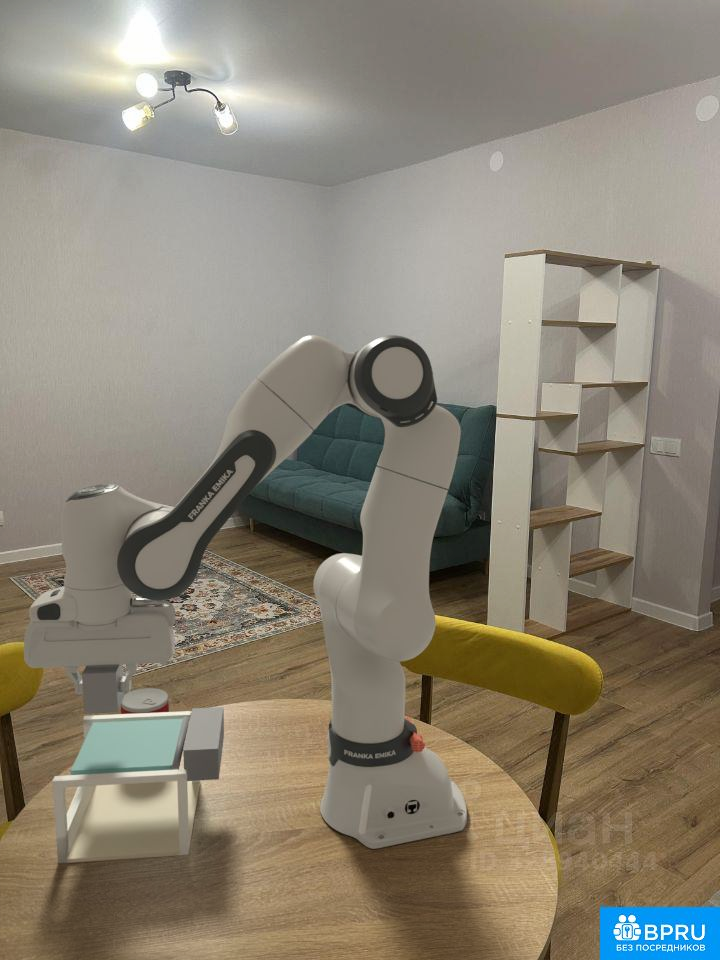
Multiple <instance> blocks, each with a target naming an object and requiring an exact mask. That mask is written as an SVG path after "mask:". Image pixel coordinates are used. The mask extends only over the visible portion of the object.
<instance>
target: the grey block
mask: <svg viewBox="0 0 720 960" xmlns="http://www.w3.org/2000/svg"><path fill="white" fill-rule="evenodd" d="M123 669H124V668H123V664H120V665H95V666H84V669H83V671H82V673H81V676H82V685H83V694H82V698H83V699H82V700H83V713H84V714H85V715H89V714H109V713H111V714H112V713H119V710H120V709H121V703H122V701H123V698H124V695H125V692H119V688H120V687H119V680H120V678H121V676H124V670H123Z"/></svg>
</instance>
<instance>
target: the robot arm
mask: <svg viewBox="0 0 720 960" xmlns="http://www.w3.org/2000/svg"><path fill="white" fill-rule="evenodd" d="M432 367H433V366H432V363H431V361H430V358H429V356H428V354H427V352H426V351H425V349H423V347H422V346H421V345H420V344H418V343H417V342H416V341H414V340H413V339H410V338H408V337H405V336H402V335H395V334H394V335H393V334H392V335H390V334H389V335H385V336H381V337H380V336H379V337H378V338H376V339H374V340H372V341H371V342H369V343H367V344H366V345H364V346H363V347H362V348H360V349H359V350H357V351H355V352H354V351H353V352H349V351H348V352H347V351H345V350H342V349H341V348H340V347H339V346H338V345H337V344H336V343H334V342H333V341H331V340H330V339H328V338H325V337H323V336H321V335H316V334H313V335H312V334H310V335H306V336H302V337H301V338H300V339H298V340H297V341H295V342H294V343H293V344H291V345H290V346H289V347H288V348H286V349H285V350H284V351H282V352H281V354H279V355H278V356H277V357H276V358H274V359H273V360H272V361H271V362H270V363H269V364H268V365H267V366H266V367H265V368H264V369H263V370H262V371H261V372H260V373H259V374H258V375H257V376H256V378H254V379H253V380H252V382H251V383H249V385H248V387H246V389H245V390H244V392H242V394H241V396H240V397H239V398H238V400H237V401H236V403H235V405H234V406H233V408H232V410H231V411H230V413H229V415H228V416H227V419H226V423H225V427H224V432H223V436H222V439H221V443H220V446H219V448H218V450H217V453H216V455H215V457H214V458H213V460H212V462H211V463H210V465H209V466H208V468H207V469H206V470H205V471H204V472H203V474H202V475H201V476H200V477H199V478H198V480H196V481H195V483H194V484H193V485H192V486H191V487H190V489H189V490H188V491H187V492H186V493H185V495H183V497H182V498H181V499H180V500H179V501H178V503H176V505H175V506H174V505H170V504H162V503H159V502H154V501H151V500H147V499H144V498H142V497H139V496H137V495H135V494H133V493H131V492H129V491H127V490H126V489H124V488H123V487H122V486H121V485H119V484H113V483H105V484H97V485H92V486H88V487H85V488H83V489H78V490H77V491H75V492H74V493H72V494H71V495H70V496H69V497H68V498H67V499H66V500H65V502H64V504H63V507H62V510H61V511H62V512H61V524H60V525H61V526H60V527H61V529H60V530H61V533H60V537H61V553H62V557H63V560H64V562H65V574H64V578H63V586H60V587H57V588H54V589H50V590H47V591H45V592H43V593H41V595H39V596H38V597H37V598H36V599H35V600H34V601H33V603H32V604H31V606H30V607H29V608H28V616H29V619H30V622H29V623H28V625H27V626H26V628H25V631H24V632H25V633H24V637H23V638H24V639H23V640H24V641H23V659H24V662H25V664H27V665H28V667H29V668H32V669H39V668H42V669H43V668H64V667H65V669H64V671H65V675H66V676H67V677H68V678H69V680H70V681H71V683H73V684H74V693H75V695H83V685H82V674H80V671H79V670H78V669H79V667H86V666H95V665H120V664H122V665H125V670H126V671H128V672H127V675H126V676H125V675H123V676H121V678H120V680H119V687H120V688H119V692H124V693H129V692H131V691H132V685H133V684H132V678H133V677H134V675H135V673H136V671H137V670H138V666H139V665H141V664H165V663H168V662H170V660H171V659H172V658H173V656H174V655H175V649H176V643H175V642H176V641H175V634H174V628H173V626H174V625H175V622H176V608H175V606H174V605H173V603H171V602H170V601H168V600H170V599H173V598H176V597H178V596H181V594H183V593H184V592H186V591H187V590H188V589H189V588H190V587H191V585H193V583H194V581H195V579H196V577H197V576H198V573H199V570H200V568H201V567H200V566H201V563H202V560H203V556H204V555H205V552H206V549H207V548H208V546H209V544H210V543H211V541H212V540H213V539H214V537H215V536H216V535H217V533H218V532H220V530H221V529H222V527H224V525H225V524H226V523H227V521H229V519H230V518H231V517H232V516H233V515H234V513H235V512H236V511H237V510H238V508H239V507H240V506H241V505H242V504H243V502H244V501H246V499H247V498H248V496H249V495H250V494H251V493H252V492H253V491H254V489H255V488H256V487H257V486H258V485H259V484H260V483H261V482H262V481H263V480H264V479H265V478H267V477H268V475H270V474H271V472H273V471H274V470H275V469H276V468H277V467H279V465H280V464H281V463H283V462H284V461H285V460H286V459H287V458H288V457H290V455H292V454H293V453H294V451H296V450H297V449H298V448H299V447H300V446H301V445H302V444H303V443H304V442H305V441H306V440H307V439H308V438H309V437H310V436H311V435H312V433H313V432H314V431H315V430H316V429H317V428H318V426H319V425H320V424H321V423H322V422H323V421H325V420H324V419H326V418H327V416H329V415H330V414H331V413H332V412H333V411H334V410H336V409H337V408H339V407H340V406H343V405H345V406H348V407H349V408H351V409H354V410H356V412H359V413H361V414H363V415H365V416H370V417H372V418H373V417H375V418H380V419H381V421H382V424H383V426H384V427H383V428H384V439H383V440H384V441H383V446H382V450H381V453H380V455H379V458H378V461H377V463H376V466H375V470H374V472H373V475H372V479H371V481H370V484H369V487H368V489H367V493H366V497H365V498H364V502H363V504H362V508H361V511H360V515H359V516H360V518H359V519H360V526H361V530H362V554H361V555H359V554H354V553H347V552H346V553H345V552H342V553H335V554H333V555H331V556H330V557H328V558H326V559H325V560H324V561H322V563H321V564H320V565H319V566H318V568H317V570H316V572H315V574H314V578H313V586H312V587H313V593H314V595H315V599H316V601H317V604H318V607H319V611H320V616H321V621H322V629H323V635H324V641H325V647H326V650H327V656H328V660H329V661H328V662H329V667H330V668H329V670H330V677H331V718H330V721H329V724H328V731H327V757H328V760H329V767H328V773H327V778H326V779H327V780H326V784H325V788H324V793H323V795H322V797H321V798H322V799H321V802H320V805H319V806H320V807H319V810H320V813H321V817H322V818H323V820H324V821H325V823H327V825H329V826H330V828H332V829H334V830H335V831H337V832H339V833H341V834H343V835H346V836H350V837H352V838H354V839H356V840H357V841H359V842H360V843H361V844H362V845H363V846H365V847H367V848H369V849H373V850H375V849H377V850H378V849H381V848H385V847H390V846H394V845H400V844H405V843H409V842H414V841H420V840H425V839H428V838H433V837H439V836H443V835H449V834H452V833H453V834H454V833H457V832H461V831H463V830H464V829H465V827H466V825H467V821H468V811H467V804H466V801H465V798H464V795H463V793H462V791H461V790H460V788H459V787H458V785H457V784H456V783H455V782H454V781H453V779H452V778H451V777H450V774H449V772H448V769H447V767H446V765H445V764H444V762H443V760H442V759H441V758H440V756H438V754H437V753H436V752H434V751H433V750H430V749H429V748H428V747H426V744H425V741H424V738H423V737H422V735H421V734H419V733H418V728H417V727H416V725H415V724H414V723H413V721H412V719H411V718H410V716H409V715H407V716H406V717H405V714H406V713H405V711H406V710H405V709H406V708H405V707H406V676H405V672H404V668H403V666H402V665H401V662H406V661H409V660H411V659H415V658H416V657H417V656H419V655H420V654H421V653H423V651H425V650H426V648H427V647H428V646H429V644H430V643H431V641H432V639H433V638H434V637H433V636H434V634H435V630H436V614H435V611H434V608H433V604H432V601H431V598H430V597H431V596H430V586H429V585H430V564H431V563H430V562H431V552H432V545H433V539H434V536H435V532H436V529H437V526H438V523H439V519H440V516H441V514H442V509H443V508H444V503H445V501H446V498H447V494H448V492H449V489H450V486H451V482H452V480H453V476H454V472H455V468H456V463H457V460H458V455H459V448H460V443H461V442H460V441H461V435H462V433H461V425H460V422H459V420H458V419H457V417H456V416H454V414H453V413H451V412H450V411H449V410H447V409H446V408H444V407H443V406H440V405H438V396H437V389H436V384H435V380H434V379H435V378H434V373H433V368H432ZM132 594H134V595H135V596H138V598H132ZM139 597H140V598H139ZM406 718H407V719H406Z"/></svg>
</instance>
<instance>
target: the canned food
mask: <svg viewBox="0 0 720 960" xmlns="http://www.w3.org/2000/svg"><path fill="white" fill-rule="evenodd" d="M169 704H170V703H169V695H168V693H167V692H166V691H165V690H162V689H160V688H153V687H145V688H139V689H134V690H130V692H126V693H124V698H123V701H122V703H121V706H120V714H136V713H159V712H170V710H169V709H170V708H169V707H170V705H169Z"/></svg>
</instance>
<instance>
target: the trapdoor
mask: <svg viewBox="0 0 720 960" xmlns="http://www.w3.org/2000/svg"><path fill="white" fill-rule="evenodd" d="M224 710H225V709H224V706H219V707H217V706H214V707H198V708H196V707H195V708H192V709H191V711H192V712H191V717H190V719H189V717H187V716H184V717H183V718H182V719H162V720H141V721H119V722H97V723H93V724H92V726H91V728H90V730H89V732H88V735H87V737H86V739H85V741H84V740H83V744H82V745H81V748H80V750H79V752H78V754H77V756H76V759H75V760H74V763H73V765H72V767H71V769H70V775H84V774H103V773H121V772H140V771H158V770H177V769H180V766H181V761H182V756H183V769H187V781H199V780H200V781H215V780H219V779H220V773H221V766H222V765H221V764H222V755H223V747H224V738H225V722H224V721H225V720H224V719H225V717H224ZM189 720H190V721H189Z"/></svg>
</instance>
